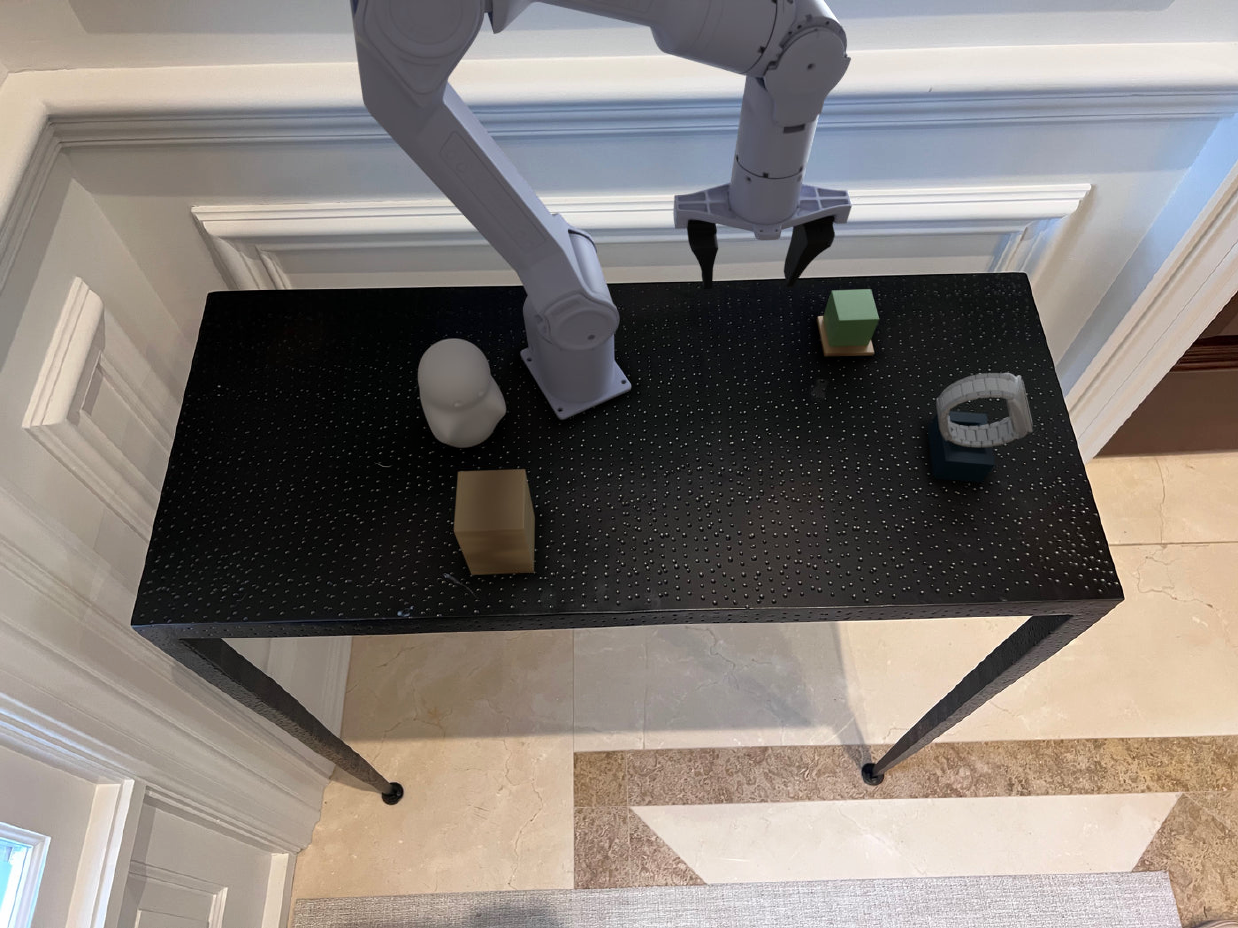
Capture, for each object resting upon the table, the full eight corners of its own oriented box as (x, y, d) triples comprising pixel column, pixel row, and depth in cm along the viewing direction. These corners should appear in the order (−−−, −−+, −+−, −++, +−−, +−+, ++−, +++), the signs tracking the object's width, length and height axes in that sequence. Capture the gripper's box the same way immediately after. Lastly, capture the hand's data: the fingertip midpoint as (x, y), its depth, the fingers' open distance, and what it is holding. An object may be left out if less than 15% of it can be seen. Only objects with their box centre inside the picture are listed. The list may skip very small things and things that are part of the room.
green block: (829, 347, 80) (838, 320, 77) (822, 317, 82) (831, 290, 79) (868, 345, 80) (879, 319, 77) (860, 316, 82) (871, 289, 79)
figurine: (451, 470, 73) (424, 394, 63) (417, 413, 77) (385, 332, 66) (518, 436, 75) (502, 357, 65) (482, 382, 79) (462, 298, 68)
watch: (1003, 484, 73) (1060, 416, 63) (914, 476, 73) (957, 407, 64) (994, 433, 75) (1047, 361, 66) (908, 426, 76) (949, 353, 66)
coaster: (824, 356, 80) (825, 353, 80) (816, 319, 83) (817, 316, 82) (873, 355, 80) (874, 352, 80) (863, 318, 83) (865, 315, 83)
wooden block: (471, 575, 68) (453, 531, 61) (474, 519, 71) (457, 471, 64) (534, 572, 68) (523, 528, 61) (534, 517, 71) (525, 468, 64)
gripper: (682, 192, 59) (672, 315, 71) (874, 186, 59) (833, 310, 71) (675, 132, 63) (667, 258, 74) (856, 127, 63) (819, 254, 75)
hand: (747, 280), depth 73 cm, fingers open, 7 cm apart
